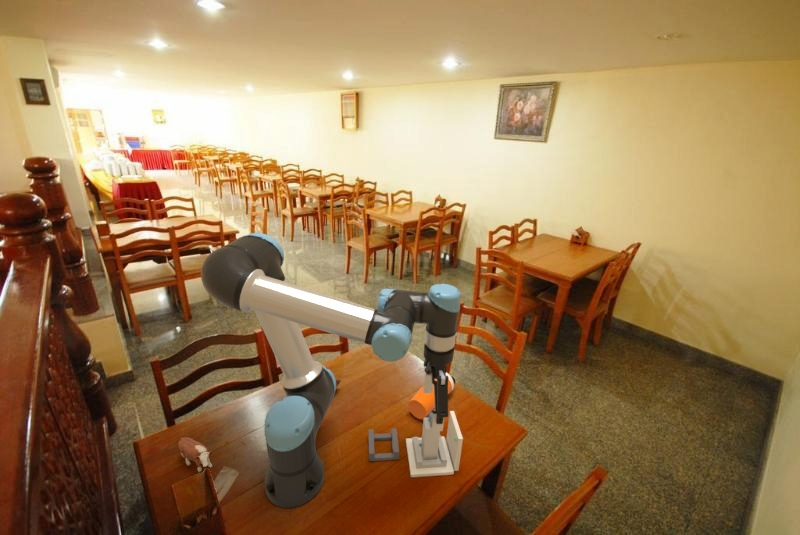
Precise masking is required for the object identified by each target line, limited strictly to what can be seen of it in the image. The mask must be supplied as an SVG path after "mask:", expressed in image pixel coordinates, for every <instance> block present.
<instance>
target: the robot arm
mask: <svg viewBox="0 0 800 535" xmlns="http://www.w3.org/2000/svg"><path fill="white" fill-rule="evenodd" d="M283 249H284V248H283V247H282V246H281V245H280V243H279V242H278V241H277V240H276V238H273V237H272V236H269V235H268V234H265V233H261V232H252V233H249V234H246V235H243V236H240V237H238V238H236V239H234V240H233V241H231V242H229V243H227V244H226V245H224V246H222V247H219V248H217V249H215V250H213V251H212V252H211V253H209V254H208V256H207V257H206V258H205V259H204V261H203V263H202V266H201V269H200V279H201V282H202V286H203V288H204V289H205V291H206V293H207V294H208V295H209V296H210V297H212V298H213V300H215V301H216V302H218V303H219V304H222V305H223V306H225V307H227V308H230V309H233V310H236V311H238V312H239V311H240V312H243V313H250V312H251V311H254V312H255V315H256V317H257V319H258V322H259V323H260V326H261V328H262V330H263V332H264V334H265V336H266V339H267V342H268V343H269V345H270V347H271V350H272V352H273V354H274V356H275V359H276V361H277V363H278V365H279V367H280V370H281V372H282V374H283V376H282V379H281V386H282V388H283V390H284V392H285V394H286V396H285V397H283V398H282V400H278V401H276V402H274V403H273V405H271V407H270V408H269V410H268V412H266V415H265V419H264V427H263V428H264V431H263V432H264V437H265V442H266V443H265V444H266V448H267V451H266V452H267V456H268V466H267V470H266V473H265V476H264V489H265V494H266V497H267V499H268V500H269V502H270V503H272V504H273V505H275V506H277V507H279V508H284V509H285V508H286V509H291V508H296V507H300V506H303V505H305V504H306V503H308V502H309V501H311V500H312V499H314V497H315V496H317V494H319V491H320V490H321V489H322V487H323V484H324V480H325V467H324V463H323V461H322V459H321V457H320V456H319V454H318V452H317V448H316V446H317V444H316V436H317V433H318V431H319V428H320V426H321V424H322V422H323V420H324V418H325V416H326V414H327V411H328V410H329V408H330V406H331V403H332V401H333V400H334V397H335V393H336V389H337V387H336V380H337V379H336V377H335V374H333V371H332V370H330V369H329V368H326V366H325V365H323V364H322V363H321V362H319V361H316V360H314V358H313V356H312V354H311V352H310V348H309V346H308V345H307V342H306V341H307V340H306V339H305V338H304V334H303V332H302V329H301V327H300V326H299V325H303V326H305V327H309V328H313V329H316V330H318V331H319V330H320V331H323V332H326V333H330V334H332V335H336V336H339V337H342V338H346V339H348V340H353V341H355V342H359V343H363V344H366V345H368V346H371V350H372V351H373V354H374V355H375V356H377V357H378V358H379V359H380V360H381V361H385V362H388V363H392V362H398V361H400V360H402V359H403V358H405V356H406V355H407V354H408V352H409V349H410V345H411V344H412V340H413V338H412V337H413V330H414V327H415V324H424V325H425V324H426V325H425V334H424V345H423V358H424V361H423V367H424V369H423V370H424V379H423V380H424V381H423V385H424V386H423V385H422V386H423V394H427V393H433V385H434V396H435V408H434V409H433V410H432V411H431V412H432V413H433V422H432V431H440V432H443V431H444V425H445V424H444V423H445V418H449V394H448V379H449V377H448V376H446V372H447V365H449V364H450V363H452V361H453V360H454V354H455V343H456V338H457V337H458V332H457V331H458V324H459V323H458V322H459V316H460V309H461V298H462V297H461V292H460V290H459V288H457V287H456V286H454V285H451V284H447V283H441V284H437V283H436V284H433V285H431V287H430V288H429V290H428V292H423V291H412V290H405V289H398V288H383V289H381V290H380V291H379V294H378V298H377V299H378V300H377V304H376V308H373V307H368V306H366V305H363V304H359V303H357V302H353V301H349V300H347V299H343V298H340V297H336V296H333V295H329V294H326V293H323V292H320V291H316V290H313V289H311V288H307V287H304V286H300V285H297V284H293V283H290V282H287V280H286V276H285V274H284V271H283V269H282V266H283V264H284V261H285V252H284V250H283ZM435 379H437V381H435Z"/></svg>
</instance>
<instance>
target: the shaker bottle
mask: <svg viewBox="0 0 800 535" xmlns="http://www.w3.org/2000/svg"><path fill="white" fill-rule="evenodd" d="M446 376H448V377H449V379H448V395H449V394H450V393H451V392H452V391H453V389H454V388H455V384H456V379H455V377H454V376H452V375H450V373H448V372H447V371H446ZM435 381H437V379H435ZM423 386H424V384H422V386H421V387H420V389H418V390H417V392H416V393H415V394H414V395H413V397H412V398H411V399H410V400H409V402H408V405H407V406H408V410H409V412H410V413H411V415H413V417H414V418H416V419H418V420H424V418H426V417H429V413H430V412H432V411H434V409H435V396H434V385H433V393H427V394H423Z"/></svg>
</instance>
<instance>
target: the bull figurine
mask: <svg viewBox="0 0 800 535" xmlns="http://www.w3.org/2000/svg"><path fill="white" fill-rule="evenodd" d="M177 447H178V450H179V452H180V454H181V456H182V457H183V459H185V464H186V466H191V465H192V463H191V461H193V462H194V463H195V464H196V466H197V472H198V473H201V472H202V471H203V468H205V467H208V468H209V467H210V468H209V469H212V468H213V466H214V464H213V463H211V461H210V455H211V454H213V452H214V449H212V450H210V451H209V448H208V447H207V446H205V445H204V444H203V443H201V442H199V441H198V440H197V441H196V440H195V439H193V438H191V437H188V436H187V437H186V436H185V437H180V438H179V441H178V443H177ZM201 464H202V466H201ZM202 467H203V468H202Z"/></svg>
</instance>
